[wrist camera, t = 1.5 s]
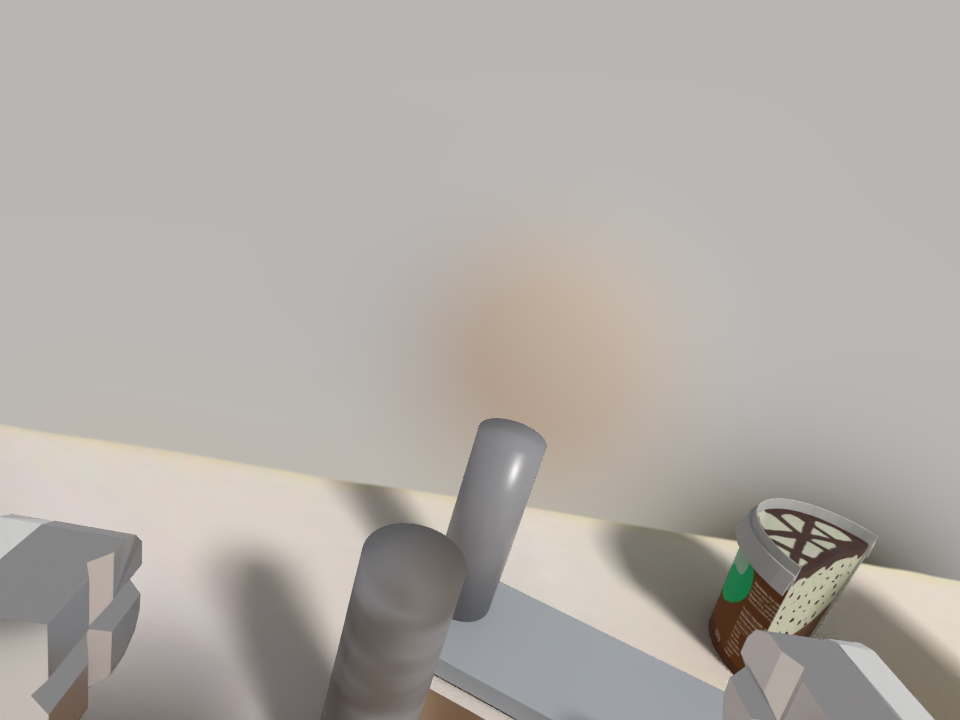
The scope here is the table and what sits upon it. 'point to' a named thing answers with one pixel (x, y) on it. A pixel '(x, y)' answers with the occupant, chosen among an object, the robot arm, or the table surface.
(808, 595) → the food container
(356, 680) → the grey post on board
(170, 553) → the table surface
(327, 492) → the table surface
